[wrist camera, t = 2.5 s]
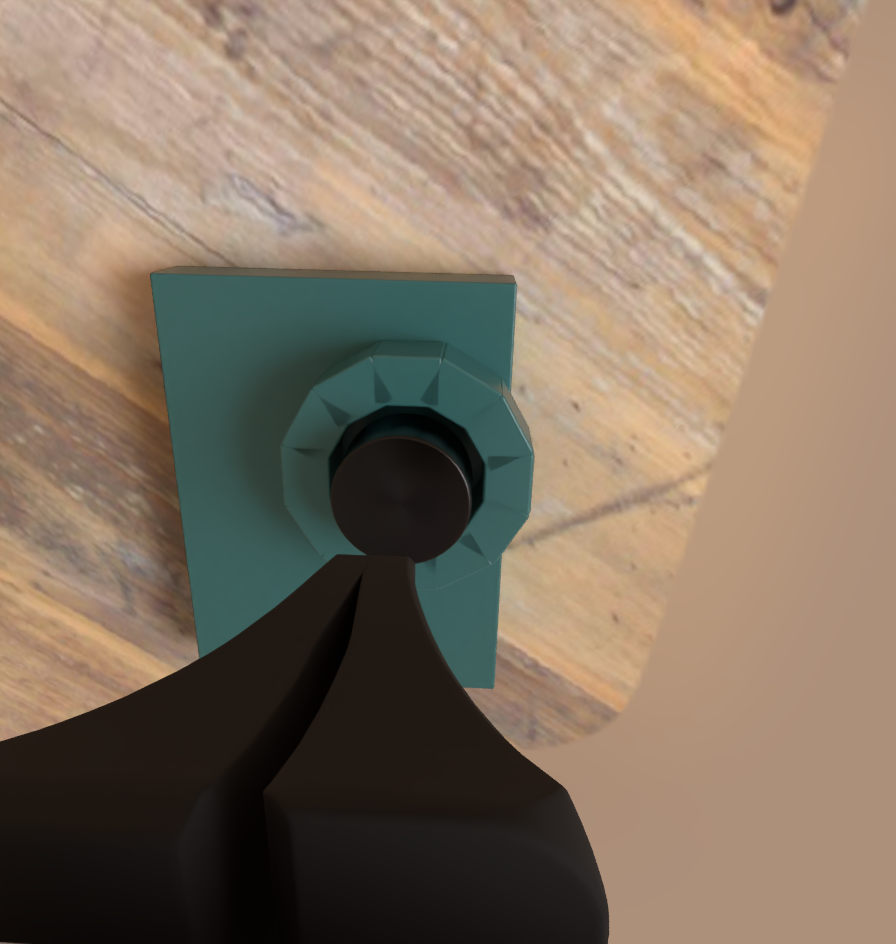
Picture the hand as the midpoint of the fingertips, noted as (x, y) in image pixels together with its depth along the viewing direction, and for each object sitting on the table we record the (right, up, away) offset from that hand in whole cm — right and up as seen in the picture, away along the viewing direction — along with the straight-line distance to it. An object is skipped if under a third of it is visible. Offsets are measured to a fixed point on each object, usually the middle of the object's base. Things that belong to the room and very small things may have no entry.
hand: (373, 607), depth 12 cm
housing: (-2, +2, +9) cm, 9 cm away
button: (0, +2, +6) cm, 6 cm away
